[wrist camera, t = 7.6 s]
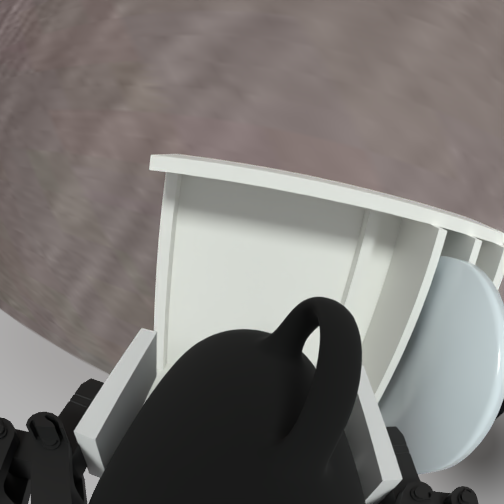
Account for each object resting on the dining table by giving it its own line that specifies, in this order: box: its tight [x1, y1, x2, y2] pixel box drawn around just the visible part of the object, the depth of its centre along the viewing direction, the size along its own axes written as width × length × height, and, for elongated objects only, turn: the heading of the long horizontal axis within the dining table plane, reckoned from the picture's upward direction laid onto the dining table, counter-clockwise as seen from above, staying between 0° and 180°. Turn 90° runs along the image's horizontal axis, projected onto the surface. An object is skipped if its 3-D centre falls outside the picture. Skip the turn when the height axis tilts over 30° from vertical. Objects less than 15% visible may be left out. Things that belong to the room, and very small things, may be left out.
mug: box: [89, 297, 366, 504], centre depth 10 cm, size 12×9×10 cm
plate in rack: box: [378, 256, 504, 474], centre depth 16 cm, size 1×13×13 cm, turn 170°
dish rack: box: [146, 154, 504, 404], centre depth 20 cm, size 22×17×6 cm
